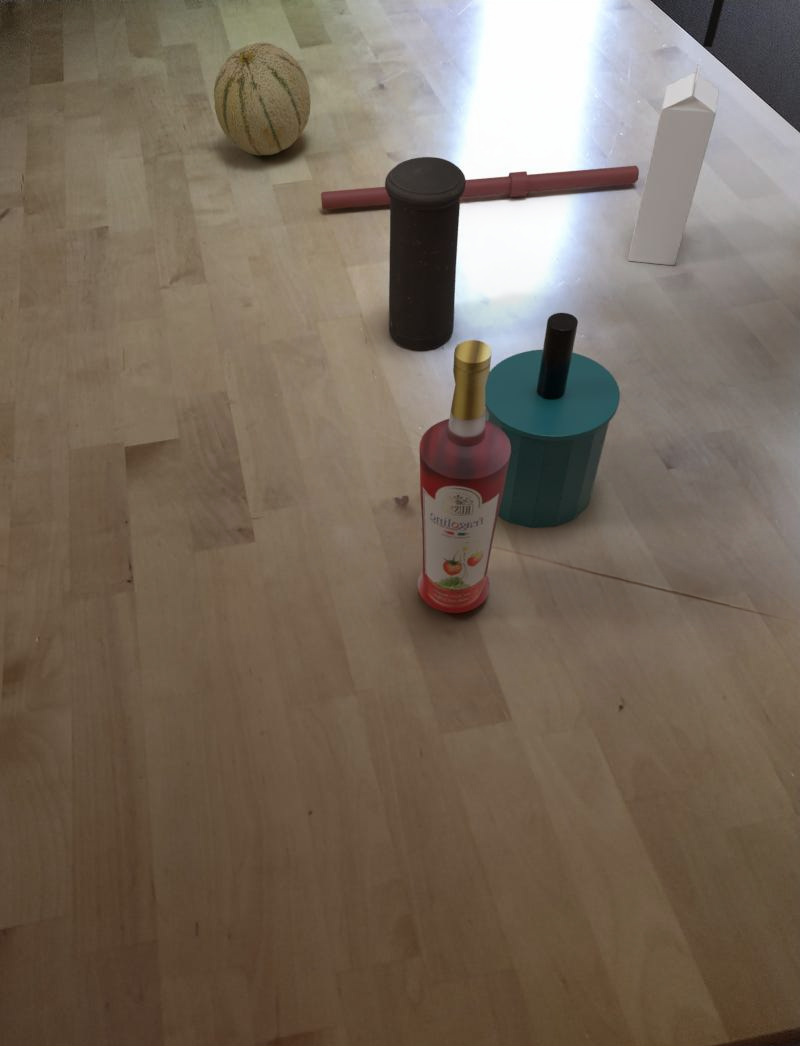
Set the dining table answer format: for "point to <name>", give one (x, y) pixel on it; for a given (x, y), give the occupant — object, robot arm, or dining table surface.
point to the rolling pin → (497, 186)
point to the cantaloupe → (262, 99)
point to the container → (423, 250)
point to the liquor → (461, 489)
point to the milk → (674, 169)
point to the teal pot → (549, 478)
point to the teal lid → (552, 389)
